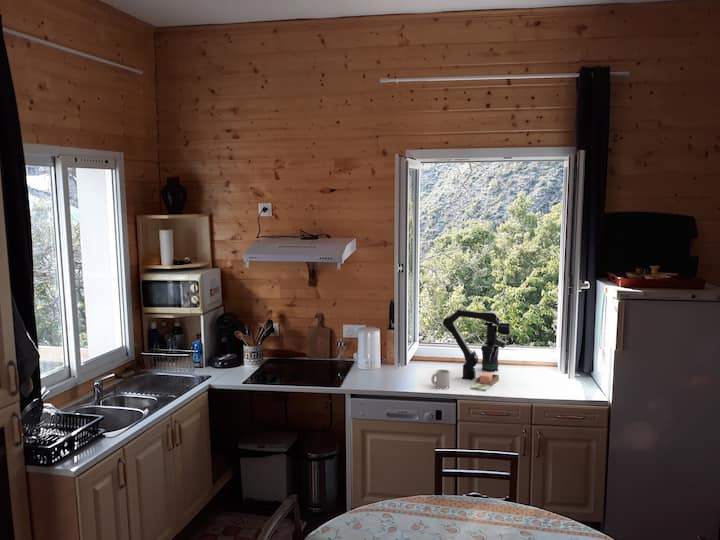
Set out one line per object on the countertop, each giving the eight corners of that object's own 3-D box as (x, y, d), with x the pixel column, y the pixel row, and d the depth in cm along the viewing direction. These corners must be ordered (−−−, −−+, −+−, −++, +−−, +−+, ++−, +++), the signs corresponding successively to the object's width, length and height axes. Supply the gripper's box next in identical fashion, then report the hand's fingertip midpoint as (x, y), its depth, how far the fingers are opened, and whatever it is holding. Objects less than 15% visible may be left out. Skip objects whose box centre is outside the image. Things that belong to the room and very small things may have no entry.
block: (479, 382, 341) (479, 375, 341) (483, 379, 346) (483, 372, 346) (489, 383, 338) (489, 376, 338) (492, 381, 344) (492, 374, 343)
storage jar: (479, 370, 368) (479, 346, 366) (484, 366, 376) (485, 343, 375) (495, 372, 363) (495, 348, 361) (500, 368, 371) (500, 345, 369)
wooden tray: (470, 388, 333) (470, 383, 333) (484, 377, 353) (484, 372, 353) (485, 391, 329) (485, 385, 328) (498, 380, 348) (498, 375, 348)
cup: (450, 388, 334) (450, 373, 332) (432, 389, 333) (432, 373, 332) (448, 384, 341) (448, 369, 340) (430, 385, 340) (430, 369, 339)
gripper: (500, 338, 333) (500, 365, 335) (510, 331, 349) (509, 357, 351) (481, 336, 338) (480, 363, 340) (491, 329, 354) (490, 355, 356)
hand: (491, 359), depth 347 cm, fingers open, 9 cm apart
